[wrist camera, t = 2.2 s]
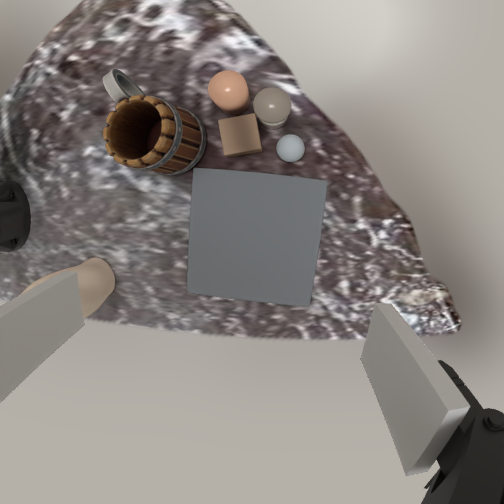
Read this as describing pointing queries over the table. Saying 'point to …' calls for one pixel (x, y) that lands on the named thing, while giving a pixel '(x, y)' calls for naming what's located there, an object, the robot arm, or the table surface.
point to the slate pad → (254, 235)
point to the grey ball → (290, 148)
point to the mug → (150, 130)
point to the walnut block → (240, 135)
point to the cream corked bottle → (89, 283)
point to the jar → (272, 107)
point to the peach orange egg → (229, 92)
